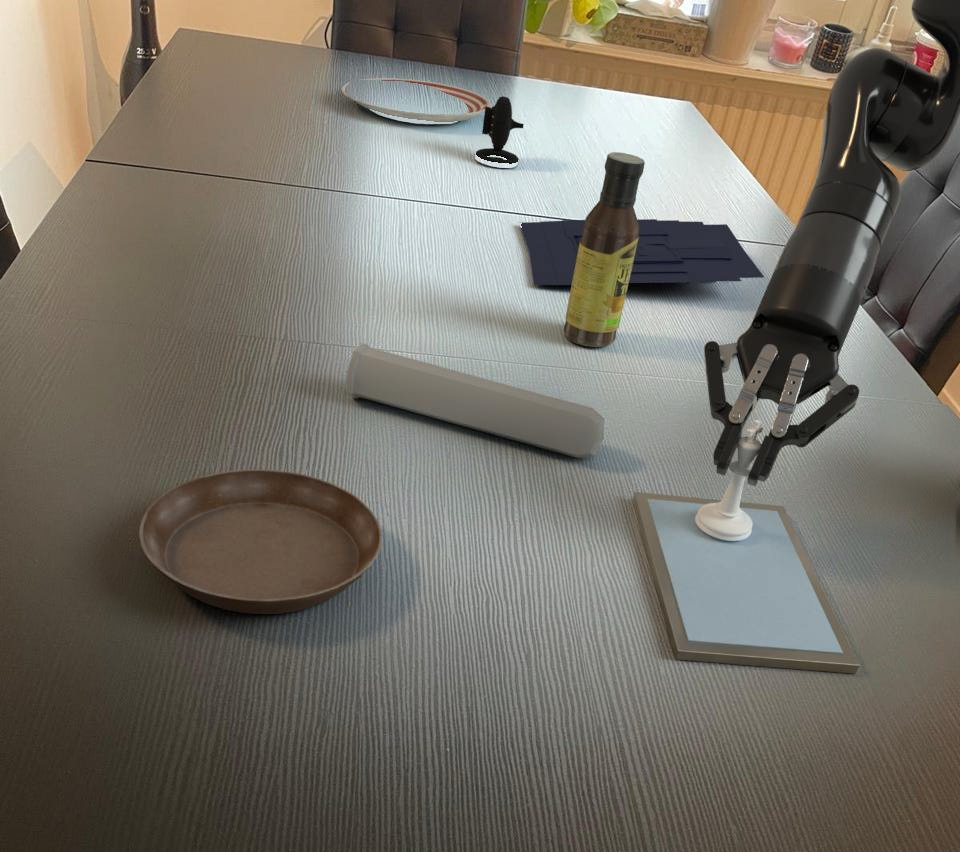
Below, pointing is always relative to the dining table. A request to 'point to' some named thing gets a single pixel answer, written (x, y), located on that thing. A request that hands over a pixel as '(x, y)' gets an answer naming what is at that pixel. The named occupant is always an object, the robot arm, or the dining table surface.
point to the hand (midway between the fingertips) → (736, 476)
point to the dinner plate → (471, 99)
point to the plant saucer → (260, 539)
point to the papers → (644, 252)
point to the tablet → (740, 590)
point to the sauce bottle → (605, 256)
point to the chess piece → (732, 495)
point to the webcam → (499, 131)
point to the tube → (475, 402)
